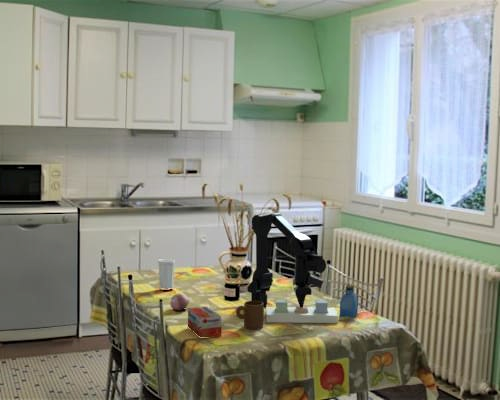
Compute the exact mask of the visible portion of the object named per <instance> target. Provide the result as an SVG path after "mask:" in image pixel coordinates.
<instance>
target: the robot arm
mask: <svg viewBox="0 0 500 400" xmlns="http://www.w3.org/2000/svg"><path fill="white" fill-rule="evenodd" d="M272 225H274V227H276V228H277V230H279V232H281V234H282V235H284V237H286V238H287V239H288V241H289V245H290V246H291V248H292V249H293V251H294V252H293V253H292V254H291V257H293V258H295V259H294V265H295V266H294V278H293V279H292V286H295V287H294V288H293V291H294V294H295V296H296V299H297V302H298V306H300V307H303V306H304V305H305V300H306V298H307V297H306V296H312V287H310V286H311V285H312V286H314V287H317V288H318V289H322V286H323V284H324V279H323V278H322V277H321V276H320V274H322V273H324V272H325V271H326V269H327V263H326V259H324V256H323V255H321V254H320V255H319V254H318V252H317V249H316V248H315V246H314V244H313V240H312V239H311V238H310V237H309V236H308V235H306V234H304V233H301V232H299V231H298V230H297V229H296V228H295V227H294V226H293V225H292V224H290V222H289V221H287V220H286V219H285V218H284V217H283V215H282V214H281V213H280V212H272V213H269V214H268V213H261V214H255V215H253V217H252V218H251V226H252V228H251V229H252V230H253V233H254V234H255V270H254V272H253V274H252V277H251V278H252V279H251V282H250V283H249V284H248V285H247V287H246V288H247V292H248V293H251V295H250V296H251V298H250V299H251V300H250V301H260V302H263V304H264V308H266V307H267V306H268V294H267V292H270V289H271V287H272V285H273V282H274V278H273V276H274V275H273V272H271V271H270V270H269V265H268V264H269V263H268V262H269V257H268V255H269V249H268V248H269V247H268V246H269V245H268V242H269V241H268V239H269V233H270V232H271V230H272ZM311 272H313V273H315V274H311Z"/></svg>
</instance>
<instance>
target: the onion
mask: <svg viewBox="0 0 500 400" xmlns="http://www.w3.org/2000/svg"><path fill="white" fill-rule="evenodd" d="M169 304H170V307H171V309H172V308H173V309H175V310H180V311H184V310H183V309H184V308H187V307H188V305H189V304H190V300H189V298H188V297H187V296H186V295H185V294H182V293H176V294H174V295H173V296H172V297H171V298H170V303H169ZM173 309H172V310H173ZM175 310H174V311H175Z"/></svg>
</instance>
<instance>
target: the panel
mask: <svg viewBox="0 0 500 400" xmlns="http://www.w3.org/2000/svg"><path fill="white" fill-rule="evenodd" d="M295 311H296V306H287V312H276V306H266V307H265V312H266V313H265V314H266V323H299V324H300V323H303V324H304V323H306V324H307V323H309V324H338V323H339V315H338V312H337V310H336V308H335V307H327V313H316V311H315V306H314V307H311V306H310V307H308V306H307V313H295Z"/></svg>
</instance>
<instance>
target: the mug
mask: <svg viewBox="0 0 500 400" xmlns="http://www.w3.org/2000/svg"><path fill="white" fill-rule="evenodd" d="M264 309H265V307H264V304H263V302H260V301H251V300H246V301H245V302H244V304H243V305H239V306H238V307H237V308H236V310H235V315H236V317H237V318H238V319H241V320H243V326H244V328H245V329H247V330H260V329H263V327H264V321H265V320H264V319H265V317H264V315H265V314H264V313H265V310H264ZM241 311H243V313H241Z"/></svg>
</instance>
